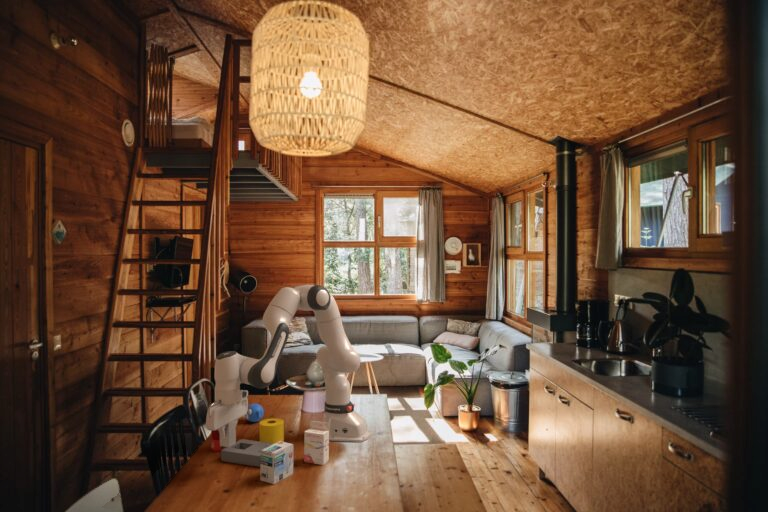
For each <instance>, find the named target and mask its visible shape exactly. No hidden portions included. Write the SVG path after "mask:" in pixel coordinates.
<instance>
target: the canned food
mask: <svg viewBox="0 0 768 512" xmlns="http://www.w3.org/2000/svg"><path fill="white" fill-rule="evenodd" d="M210 432H211V433H210V434H211V435H210V436H211V440H210V444H211V445H210V446H211V447H210V448H211V450H212V451H213V452H215V453H216V452H217V453H221V450H223V449H225V448H227V447H224V446H220V433H219V431H218V429H217V430H215V431H212V430H210Z"/></svg>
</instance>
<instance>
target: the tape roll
mask: <svg viewBox="0 0 768 512" xmlns="http://www.w3.org/2000/svg"><path fill="white" fill-rule="evenodd" d="M284 440H285V420H284V419H282V418H278V417H277V418H273V417H270V418H265V419H263V420H262V419H261V420H259V442H267V443H274V444H275V443H277V442H279V441H282V442H285V441H284Z"/></svg>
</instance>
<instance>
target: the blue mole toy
mask: <svg viewBox="0 0 768 512" xmlns="http://www.w3.org/2000/svg"><path fill="white" fill-rule="evenodd" d="M264 413H265V411H264V408H263V406H262V405H261V404H259V403H251V404H250V405H248V411H247V414H246V415H244V416H242V417H241V418H243V419H245V420H247V421H248V422H251V423H256V422H257V423H258V422H260V421H262V419H263V417H264Z"/></svg>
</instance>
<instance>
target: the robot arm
mask: <svg viewBox="0 0 768 512" xmlns="http://www.w3.org/2000/svg"><path fill="white" fill-rule="evenodd" d="M298 311H305V312H308V311H313V314H314V317H315V322H316V327H317V331H318V335H319V338H320V339H321V341H322V343H324V345H322V346H320V348H319V349H318V350H317V351H316V357H315V358H316V361H317V364H318V365H319V366H320V368H321V372H322V375H323V379H324V386H325V401H324V406H323V408H324V421H323V422H326V423H328V428H329V441H331V442H332V441H335V442H351V443H352V442H354V443H355V442H356V443H361V442H365V441H367V440H368V439H370V438H371V436H372V435H373V431H372V429H368V426H367V425H368V423H367V420H366V419H365V418H364V417H362V415H360V414H359V412H357V411H356V410H355V406H356V402H354V403H352V401H351V384H350V381H349V380H348V378H347V377H346V374H353V373H355V372H357V370H359V368H360V366H361V361H362V360H361V356H360V354H359V352H357V351H356V350H355V349H354V347H353V346H352V344H351V342H350V340H349V338H348V336H347V335H346V331H345V328H344V325H343V322H342V321H343V320H342V317H341V313H340V310H339V306H338V303H337V302H336V299H335V298H334V295H332V294H330V292H329V290H328V289H327V288H326V287H325V286H323V285H319V284H305V285H296V286H293V287H291V286H290V287H289V286H285V287H282V288H280V290H279V291H278V292H277V293H276V294H275V296H274V297H273V298H272V300H271V301H270V302H269V304H268V306H267V308H266V309H265V311H264V312H263V316H262V324H263V326H264V328H265V329H266V330H267V332H269V334H270V339H269V342H268V344H267V347H266V349H265V350H264V351H265V352H264V353H263V356H262V357H260V358H259V359H257V358H255V357H249V356H245V355H242V354H240V353H238V351H236V350H230V351H224V352H221V353H219V354H218V355H217V356H216V359H215V363H214V382H215V385H214V386H215V387H214V402H212V403H211V404H210V406H209V407H208V408H207V412H206V416H205V417H206V419H205V428H206V429H207V430H208V431H211V430H212V431H215V430H217V429H218V431H219V433H220V437H221V438H224V437H226V432H225V431H224V428H225V425H227V424H228V422H230V421H232V420H234V419H236V426H237V425H238V421H239V419H240V418H243V417H242V416H244V415H246V414H247V411H248V406H249V401H248V400H249V399H248V395H249V391H248V390H245V389H244V390H243V389H241V386H240V385H241V384H246V385H250V386H252V387H254V388H256V389H266V388H268V387H269V386H271V384H272V383H273V382H274V380H275V378H276V373H277V368H278V364H279V362H280V359H281V357H282V355H283V352H284V349H285V347H286V344H287V341H288V339H289V336H290V325H291V322H292V320H293V319H294V316H295V314H296V312H298Z"/></svg>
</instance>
